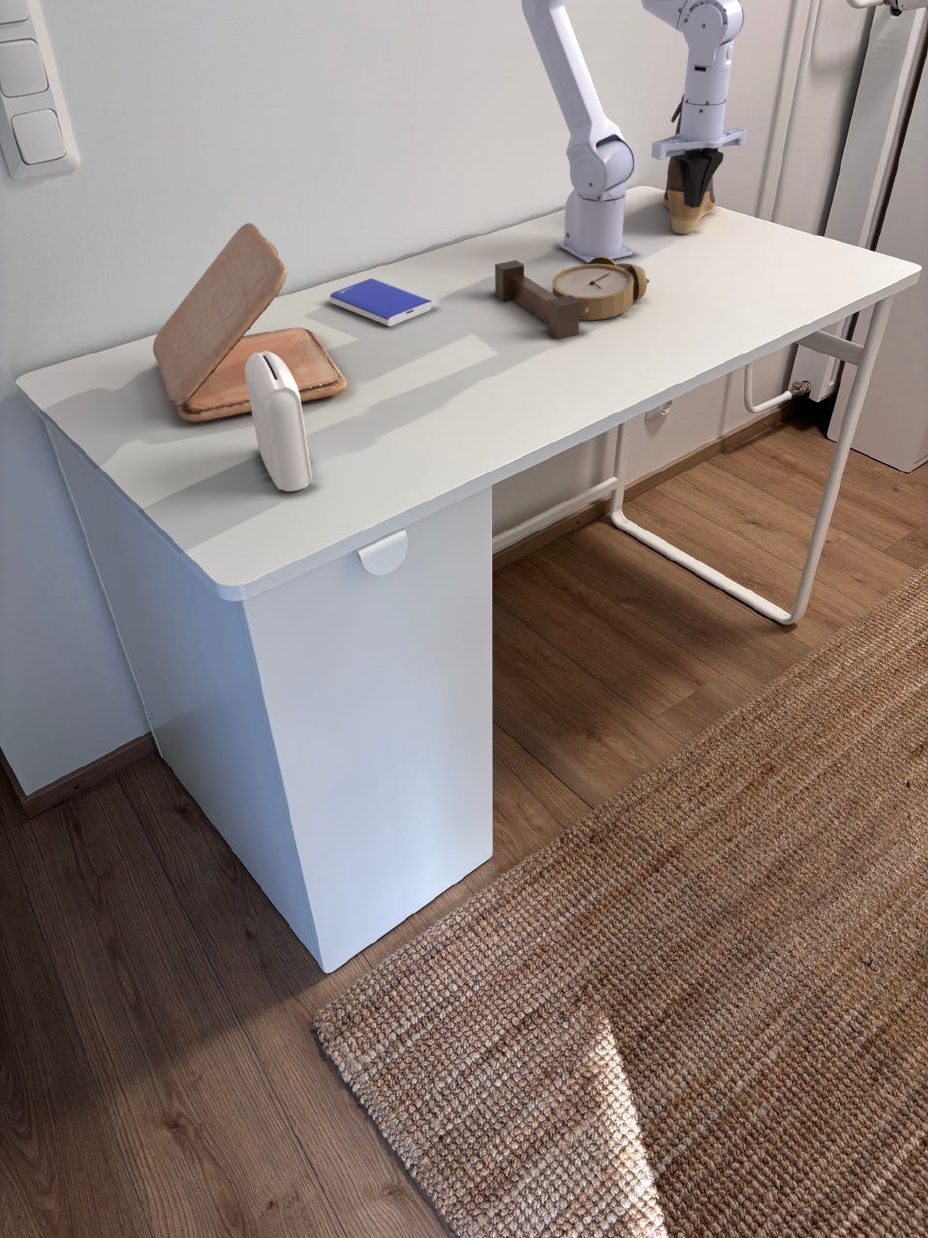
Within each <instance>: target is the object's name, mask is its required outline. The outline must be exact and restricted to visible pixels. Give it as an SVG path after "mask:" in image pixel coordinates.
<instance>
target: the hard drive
mask: <svg viewBox="0 0 928 1238" xmlns="http://www.w3.org/2000/svg"><path fill="white" fill-rule="evenodd" d="M329 300H330V303H331V304H333V305H335V306H338V307H340V308H343V309H345V310H348V311H351V312H353V313H354V314H355V313H356V314H358V315H361V316H362V317H365V318H368V319H370V320H372V321H375V322H377V323H380V324H382V325H385V326H387V327H393V326H396V325H398V324H400V323H403V322H406V321H408V320H410V319H412V318H415V317H417V316H420V315H422V314H425V313H427V312H429V311H431V310H432V299H428V298H426V297H423V296H420V295H417V294H415V293H413V292H409V291H407V290H404V289H402V288H399V287H396V286H393V285H391V284H388V283H385V282H383V281H381V280H377V279H376V278H372V277H371V278H368V279H365V280H363V281H360V282H357V283H354V284H352V285H349V286H346V287H344V288H341V289H338V290H336V291H333V292H331V293H330V295H329Z"/></svg>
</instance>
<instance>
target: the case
mask: <svg viewBox="0 0 928 1238" xmlns="http://www.w3.org/2000/svg"><path fill="white" fill-rule="evenodd" d="M287 275H288V269H287V266H286V265H285V264H284V262H283V261H282V258H280V257H279V252H278V250H277V248H276V246H275V245H274V244H273V243H272V242H271V241H270V240H269V239H268V238H267V237H266V236H264V235H263V234H262V233H261V231H260V229H258V227H257V226H256V225H255V224H254V223H251V222H247V223H245V224H243V225H242V226H241V227H239V228H238V229H237V231H236V232H235V233H234V234H233V236H232V237H231V238H230V239H229V240H228V242H227V243H226V244H225V246H223V249H221V251H220V252H219V253H218V254H217V256H216V258H214V260H213V261H212V262H211V264H210V265H209V267H208V268H207V269H206V270H205V272H204V273H203V274H202V275H201V276H200V278H199V279H198V281H197V282H196V284H194V286H193V287H192V288H191V290H190V291H189V292H188V294H187V295H186V296H185V297H184V298H183V300H182V301H181V303H180V304H179V305H178V306H177V308H176V309H175V310H174V312H173V313H172V314H171V316H170V317H169V318H168V319H167V320H166V321H165V323H164V324H163V326H161V328H160V330H159V331H158V332H157V334H156V336H155V337H154V341H153V344H152V352H153V355H154V357H155V358H154V359H155V361H156V364H157V366H158V369H159V372H160V375H161V378H162V381H163V384H164V387H165V391H166V394H167V397H168V400H169V401H170V403H172V404H173V405H174V406H176V407H175V408H176V409H177V412H178V415H179V417H180V418H181V419H182V420H183V421H186V422H191V423H198V422H199V423H200V422H206V421H211V420H216V419H220V418H221V419H222V418H226V417H230V416H235V415H240V414H245V413H250V412H251V413H252V409H251V404H250V398H249V393H248V387H247V382H246V376H245V366H246V363H247V360H248V359H249V357H250V356H251V355H252V354H253V353H261V352H263V351H268V352H271V353H273V354H275V355H277V356H278V357H279V358H280V359H281V360H282V361H283V362H284V363H285V365H286V366H287V367H288V369H289V371H290V372H291V374H292V376H293V378H294V380H295V383H296V385H297V388H298V390H299V394H300V400H301V403H302V402H306V401H312V400H317V399H323V398H329V397H332V396H336V395H339V394H342V393H343V392H344V391H346V389H347V387H348V381H347V378H346V377H345V375H344V374H343V373H342V371H341V370H340V368H339V367H338V366H337V364H336V363H335V362H334V360H333V358H332V357H331V356H330V354H329V353H328V351H327V349H326V348H325V347H324V345H323V343H322V342H321V340H320V339H319V337H318V335H317V334H316V333H315V332H313V331H311V330H309V329H307V328H304V327H299V326H297V327H289V328H282V329H281V328H280V329H277V330H271V331H265V332H257V333H251V334H247V332H248V331H249V330H250V329H251V328H252V326H253V325H254V324H255V323H256V321H258V319H259V318H260V316H262V314H263V313H264V312H266V310H267V309H268V307H269V306H270V305H271V303H272V302H273V301H274V299H275V298H276V297H277V296H278V295H279V294H280V292H281V290H282V289H283V286H284V285H285V282H286V279H287ZM245 334H247V335H245Z"/></svg>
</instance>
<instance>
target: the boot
mask: <svg viewBox="0 0 928 1238" xmlns="http://www.w3.org/2000/svg"><path fill="white" fill-rule="evenodd" d="M683 99H684V93H683V94H682V96H681V100H680V102H679V103H678V106H677V107H676V109H675V111H674V113H673V115H672V116H671V118H670V122H671V123H672V124H673V123H675V122H676V120H677V118H678V120H677V124H676V129H675V133H674V135H677V134H680V126H681V117H682V107H683ZM666 177H667V178H666V186H665V191H664V194H663V203H664V206H665V207H666V208H667V209H668V210H669V214H670V218H671V226H672V228H671V229H672V231H673V232H674V233H675V234H677V235H688V234H691V233H692V232H694V230H695V229H696V227H697V225H698V223H699V221H700V220H701V219H702V218H703V217H705V216H706V215H708V214H710V213H711V212H712V211H713V209H714V208H715V205H716V197H715V191H714V175H713V176H712V178H711V180H710V182H709V184H708V187H707V189H706V192H705V194H704V197H703V200H702V202H701V205H700V207H696V208H691V207H689V206H687V205H685V204H684V194H683V187H682V182H681V177H680V174H679V171H678V168H677V165H676V163H675V161H674V158H673V156H671V157H669V161H668V167H667V174H666Z"/></svg>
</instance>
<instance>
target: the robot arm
mask: <svg viewBox="0 0 928 1238" xmlns="http://www.w3.org/2000/svg"><path fill="white" fill-rule="evenodd" d="M565 1H566V0H521V9H522V13H523V16H524V19H525V21H526V24H527V26H528V28H529V29H528V30H529V31H530V34H531V36H532V39H533V42H534V44H535V46H536V50H537V52H538V54H539V57H540V59H541V62H542V64H543V67H544V70H545V72H546V75H547V77H548V80H549V83H550V85H551V88H552V90H553V93H554V95H555V98H556V101H557V103H558V105H559V108H560V110H561V113H562V116H563V118H564V121H565V124H566V126H567V129H568V132H569V134H570V136H569V137H570V138H569V140H568V144H567V147H566V151H565V154H566V156H567V160H568V163H569V178H570V182H571V185H572V187H573V190H572V191H571V192H570V193H569V195H568V197H567V199H566V202H565V207H564V208H565V209H564V211H565V212H564V231H563V232H564V233H563V241H561V242H559V243H558V247H559V248H561V249H563V250H564V251H566V252H568V253H569V254H572V255H573V256H575V257H577V258H579V259H580V260H582V261H584V262H585V263H586V264H588V263H589V262H590V261H591V260H592V259H594V258H596V257H598V256H605V257H609V258H610V259H612V260H615V259H620V258H625V257H630V256H633V252H634V251H632V250H630V249H628V248H627V247H625V246H623V235H624V234H623V232H624V221H625V220H624V219H625V207H626V196H627V195H626V194H627V181H628V180H629V179H631V177H632V176H633V174H634V173H635V170H636V165H637V158H636V153H635V151H634V148H633V147H632V146H631V144H630V143H629V142H628V141H627V140H625V138H624V136H623V135H622V133H621V130H620V127H619V126H618V125H616V124H615V123H614V122H613V121H611V120H610V118H608V117H606V114H605V112H604V109H603V106H602V103H601V102H600V101H601V100H600V98H599V96H598V93H597V91H596V88H595V85H594V83H593V81H592V76H591V73H590V72H589V70H588V67H587V64H586V62H585V61H586V60H585V58H584V56H583V53H582V50H581V48H580V45H579V42H578V41H577V37H576V35H575V32H574V29H573V26H572V24H571V22H570V19H569V16H568V14H567V10H566V8H565ZM640 1H641V5H642V8H643V10H645V11H646V12H648V13H649V14H651V15H653V16H654V17H656V18H658V19H659V20H660V21H662V22H664V23H665V24H667V25H669V26H670V27H672V28H673V29H675V30H677V31H678V32H680V33H682V34H683V39H684V40H685V42H686V44H687V47H688V54H687V63H686V72H685V81H684V90H683V94H684V99H683V107H682V117H681V126H680V134H677V135H675V134H674V135H672V136H671V135H670V136H669V137H666V138H663V139H660V140H655V141H652V145H651V155H650V156H651V158H654V159H656V160H658V161H662V160H665V159H666V158H670V157H671V156H673V158H674V161H675V163H676V165H677V168H678V171H679V174H680V177H681V182H682V187H683V194H684V204H685V205H687V206H689V207H691V208H696V207H700V205H701V202H702V200H703V197H704V194H705V192H706V189H707V187H708V184H709V182H710V180H711V178H712V176H713V177H714V175H715V173H716V171H717V169H718V168H719V167H720V166H721V164H722V163H723V161H724V157H725V156H724V152H721V151H719V149H720V148H727V147H732V146H738V147H742V146H746V142H747V135H748V130H747V129H744V128H741V127H732V128H724V122H725V117H726V116H725V115H726V107H727V102H728V101H727V100H728V94H729V93H728V92H729V84H730V77H731V69H732V60H733V53H734V45H735V40H734V39H736V37H737V36H738V35H739V34H740V33H741V31H742V29H743V27H744V23H745V10H744V6H743V4H742V2H741V0H640Z"/></svg>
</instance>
